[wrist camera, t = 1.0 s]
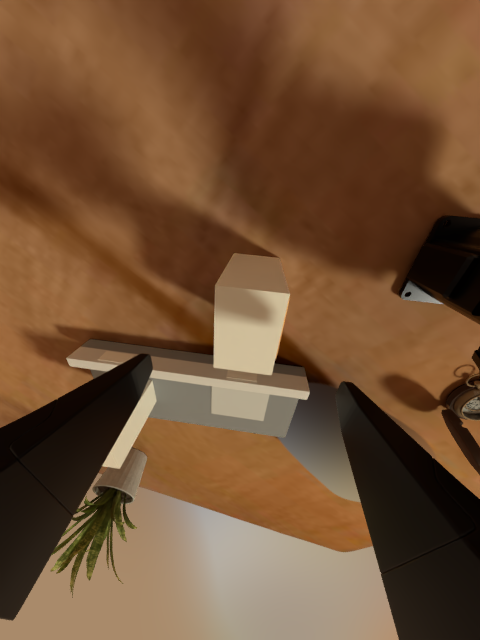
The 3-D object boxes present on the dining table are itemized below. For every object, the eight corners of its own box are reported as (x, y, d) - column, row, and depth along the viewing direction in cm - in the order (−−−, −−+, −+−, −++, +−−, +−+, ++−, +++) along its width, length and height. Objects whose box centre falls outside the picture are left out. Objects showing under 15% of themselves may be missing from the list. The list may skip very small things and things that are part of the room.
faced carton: (105, 372, 25) (45, 436, 18) (152, 378, 25) (108, 446, 18) (113, 394, 27) (63, 459, 20) (156, 400, 27) (119, 468, 20)
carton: (282, 258, 17) (294, 294, 11) (271, 317, 20) (275, 376, 14) (234, 252, 18) (214, 285, 11) (230, 312, 21) (213, 367, 14)
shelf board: (304, 366, 23) (310, 391, 20) (284, 427, 29) (286, 453, 26) (89, 337, 24) (65, 356, 21) (114, 402, 31) (97, 423, 28)
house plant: (75, 434, 37) (-39, 574, 23) (134, 425, 33) (40, 586, 19) (123, 471, 43) (55, 600, 29) (176, 467, 40) (129, 612, 26)
